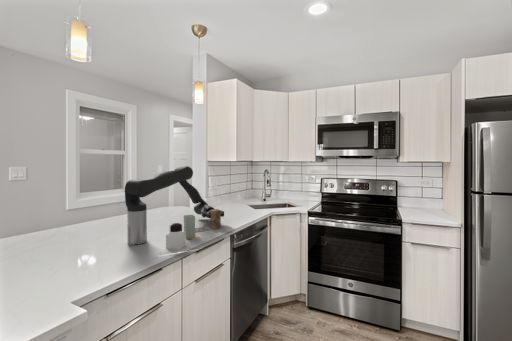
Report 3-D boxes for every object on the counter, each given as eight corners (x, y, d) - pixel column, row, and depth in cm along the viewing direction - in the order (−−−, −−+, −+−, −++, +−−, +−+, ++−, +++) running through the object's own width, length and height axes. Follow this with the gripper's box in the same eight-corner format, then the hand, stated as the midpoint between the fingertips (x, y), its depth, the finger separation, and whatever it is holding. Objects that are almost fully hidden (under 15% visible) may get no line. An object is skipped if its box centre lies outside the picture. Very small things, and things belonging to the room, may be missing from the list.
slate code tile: (193, 234, 151) (193, 233, 151) (188, 230, 160) (188, 229, 160) (209, 231, 156) (209, 230, 156) (204, 228, 165) (204, 227, 165)
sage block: (186, 239, 140) (186, 217, 139) (183, 236, 144) (183, 215, 144) (195, 237, 142) (195, 216, 142) (192, 235, 147) (192, 214, 146)
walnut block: (213, 230, 160) (213, 211, 160) (210, 228, 165) (210, 209, 164) (220, 229, 163) (220, 210, 162) (217, 227, 167) (217, 209, 167)
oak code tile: (182, 242, 137) (182, 241, 137) (178, 237, 145) (178, 236, 145) (200, 239, 141) (200, 238, 141) (195, 234, 150) (195, 233, 150)
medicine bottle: (185, 245, 131) (185, 222, 131) (179, 250, 124) (179, 225, 124) (172, 245, 132) (171, 221, 131) (165, 249, 125) (165, 225, 124)
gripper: (198, 206, 172) (205, 211, 158) (218, 205, 179) (227, 209, 165) (198, 217, 172) (205, 223, 158) (218, 215, 179) (227, 220, 165)
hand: (216, 216), depth 162 cm, fingers open, 8 cm apart
